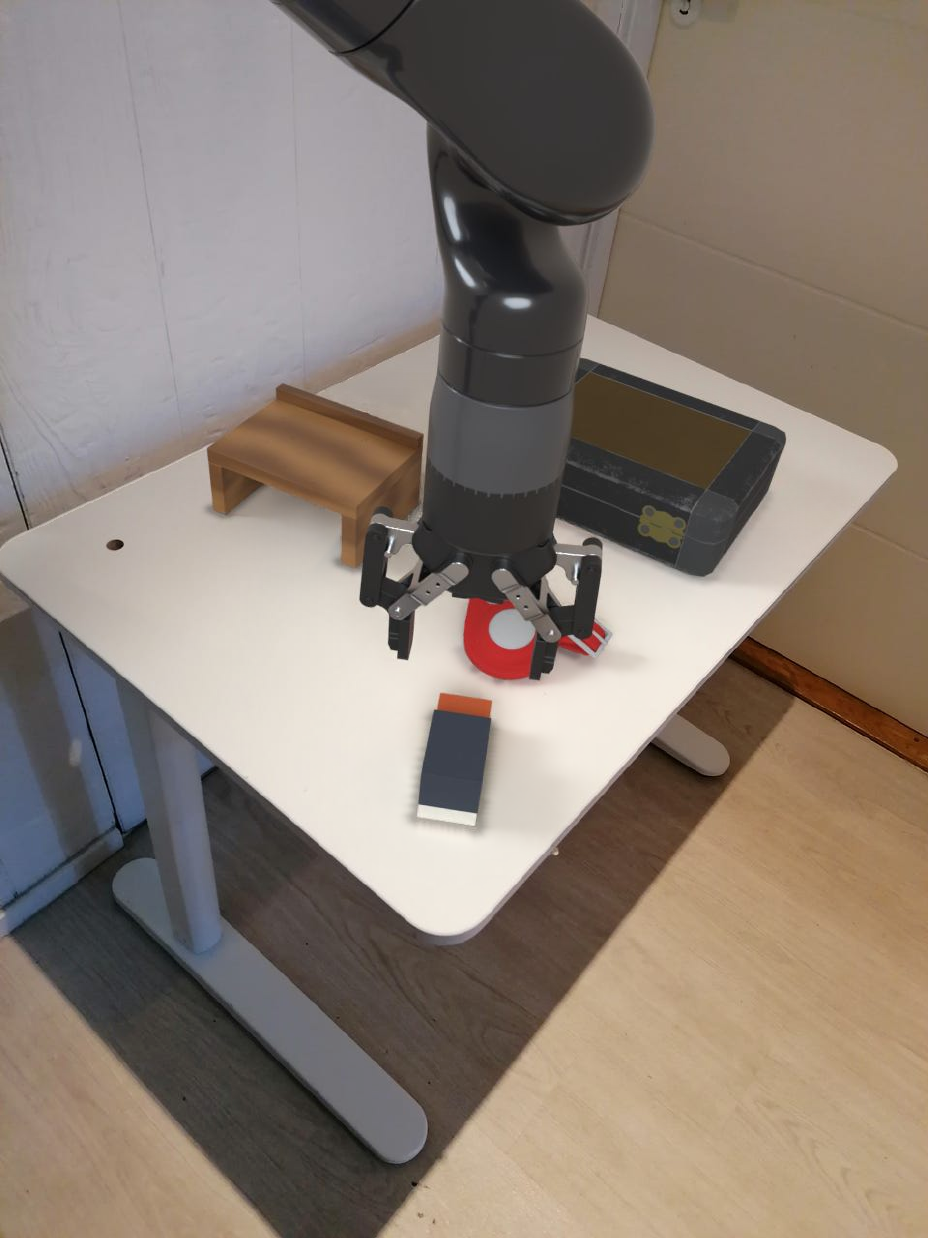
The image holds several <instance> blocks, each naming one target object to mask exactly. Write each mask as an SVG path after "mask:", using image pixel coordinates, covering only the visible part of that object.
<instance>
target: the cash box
mask: <svg viewBox="0 0 928 1238" xmlns="http://www.w3.org/2000/svg"><path fill="white" fill-rule="evenodd" d="M786 443H787V436H786V432H785V431H783V430H781V429H780V428H778V427H777V426H775V425H773V424H770V423H767V422H764V421H762V420H759V419H756V418H754V417H750V416H748V415H745V414H742V413H740V412H737V411H733V410H731V409H728V408H725V407H722V406H720V405H717V404H714V403H712V402H709V401H706V400H703V399H700V398H698V397H696V396H692V395H689V394H686V393H683V392H681V391H678V390H675V389H673V388H670V387H667V386H664V385H661V384H659V383H656V382H653V381H650V380H648V379H645V378H642V377H639V376H636V375H634V374H631V373H628V372H625V371H623V370H620V369H617V368H614V367H612V366H609V365H606V364H603V363H600V362H598V361H594V360H591V359H589V358H585V357H584V358H583V357H580V360H579V366H578V371H577V377H576V381H575V389H574V414H573V424H572V431H571V443H570V447H569V449H568V453H567V458H566V464H565V469H564V475H563V480H562V485H561V491H560V496H559V502H558V507H557V513H556V518H555V519H559V520H561V521H563V522H566V523H569V524H571V525H573V526H575V527H578V528H579V529H582V530H585V531H587V532H589V533H592V534H594V535H597V536H599V537H601V538H603V539H606V540H609V541H611V542H613V543H615V544H618V545H620V546H623V547H625V548H627V549H629V550H631V551H633V552H637V553H639V554H641V555H643V556H646V557H647V558H650V559H653V560H655V561H658V562H660V563H662V564H664V565H667V566H669V567H672V568H674V569H676V570H679V571H681V572H684V573H686V574H688V575H691V576H697V577H703V578H704V577H706V576H708V575H710V574H712V573H713V572H714V571H715V570H716V568H717V567H718V565H719V563H720V562H721V561H722V559H723V557H724V556H725V555H726V554H727V552H728V551H729V549H730V547H731V546H732V545H733V543H734V542H735V540H736V539H737V537H738V536H739V534H740V533H741V532H742V530H743V528H744V527H745V526H746V525H747V523H748V522H749V520H750V519H751V517H752V515H753V514H754V513H755V511H756V509H757V508H758V507H759V505H760V504H761V502H762V501H763V499H764V498H765V496H766V495H767V494H768V492H769V489H770V487H771V484H772V481H773V479H774V476H775V473H776V470H777V468H778V465H779V462H780V460H781V457H782V454H783V452H784V448H785V446H786Z"/></svg>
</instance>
